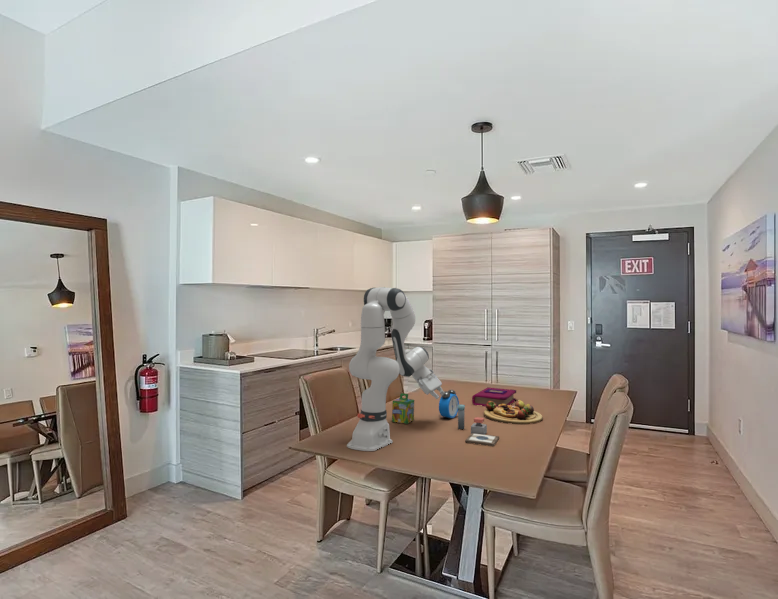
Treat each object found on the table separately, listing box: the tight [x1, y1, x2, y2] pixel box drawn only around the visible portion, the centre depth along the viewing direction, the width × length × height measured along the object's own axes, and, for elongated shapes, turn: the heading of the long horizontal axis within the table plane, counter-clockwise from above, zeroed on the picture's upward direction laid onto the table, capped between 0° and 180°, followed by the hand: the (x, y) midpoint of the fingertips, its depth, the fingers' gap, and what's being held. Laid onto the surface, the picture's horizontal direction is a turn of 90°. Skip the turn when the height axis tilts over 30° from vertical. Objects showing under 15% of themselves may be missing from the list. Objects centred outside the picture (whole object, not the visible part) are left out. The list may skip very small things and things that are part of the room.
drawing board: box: [464, 433, 500, 447], centre depth 216 cm, size 13×13×1 cm
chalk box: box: [391, 392, 415, 425], centre depth 249 cm, size 9×9×15 cm
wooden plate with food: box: [483, 399, 544, 425], centre depth 260 cm, size 32×32×8 cm
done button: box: [473, 416, 485, 426], centre depth 227 cm, size 4×4×4 cm
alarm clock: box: [438, 389, 460, 420], centre depth 258 cm, size 13×6×15 cm, turn 144°
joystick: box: [457, 403, 466, 430], centre depth 235 cm, size 3×3×12 cm
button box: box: [470, 422, 488, 435], centre depth 227 cm, size 6×6×4 cm
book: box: [471, 386, 517, 407], centre depth 296 cm, size 21×28×8 cm
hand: (441, 396), depth 240 cm, fingers open, 8 cm apart
